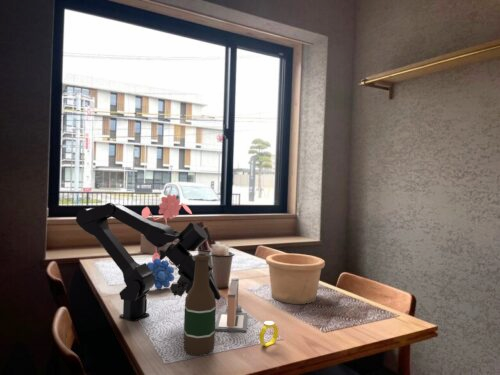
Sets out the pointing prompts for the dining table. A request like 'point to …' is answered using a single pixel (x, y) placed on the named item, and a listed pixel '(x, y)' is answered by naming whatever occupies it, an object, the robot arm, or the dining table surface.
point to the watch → (263, 330)
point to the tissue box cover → (152, 246)
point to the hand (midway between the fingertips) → (219, 298)
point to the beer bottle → (200, 311)
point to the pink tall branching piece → (166, 212)
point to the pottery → (294, 277)
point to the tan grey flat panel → (232, 301)
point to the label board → (238, 324)
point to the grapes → (161, 273)
